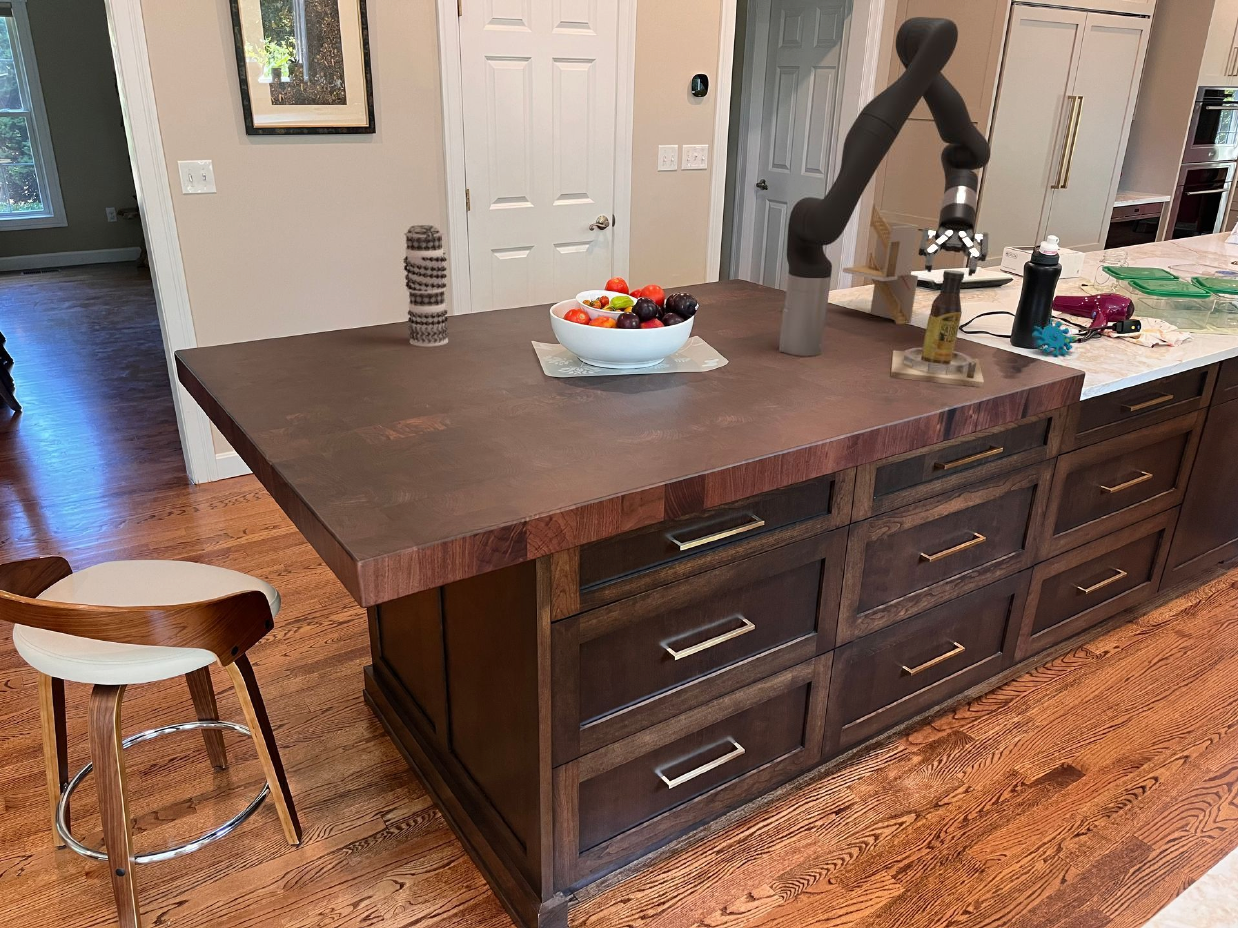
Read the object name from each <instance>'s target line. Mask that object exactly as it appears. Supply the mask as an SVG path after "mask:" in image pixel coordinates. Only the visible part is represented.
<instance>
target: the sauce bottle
mask: <svg viewBox="0 0 1238 928" xmlns="http://www.w3.org/2000/svg"><path fill="white" fill-rule="evenodd" d="M964 277H965V272H964V271H961V270H955V269H944V271H943V274H942V278H943V280H942V284H941V288H940V292H939V294H938V295H937V296H936V297H935V299H934V300H933V301H932V304H931V308H930V313H929V316H928V320H927V323H926V325H927V326H926V330H925V334H924V339H923V344H922V347H921V348H922V353H921V355H922V357H921V360H923V361H927V362H931V363H940V364H950V362H951V359H952V355H953V351H954V349H955V346H956V345H955V344H956V341H957V337H958V331H959V327H960V324H961V323H960V321H961V318H962V305H961V295H960V294H961V288H962V283H963V280H964Z"/></svg>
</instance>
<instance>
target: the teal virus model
mask: <svg viewBox="0 0 1238 928" xmlns="http://www.w3.org/2000/svg"><path fill="white" fill-rule="evenodd" d="M1049 318H1050V324H1049V325H1048V326H1047V325H1045V326H1046V327H1044V329H1043V330H1042V328H1041V326H1040V327H1037V326H1034V325H1033V326H1034V328H1035V329H1037V330H1038V331H1037V330H1035V329H1034V328H1033V327H1032V328H1033V330H1035V331H1033V332H1032V334H1031V336H1032V337H1033V338H1036V339H1037V341H1035V345H1036V346H1037V347H1038V346H1041V345H1044V347H1042V351H1043V353H1044V354H1048V353H1049V352H1050V351H1051V349H1053V350H1054V351H1053V352H1051V355H1052V357H1056V358H1057V357H1058V356H1062V357H1063V356H1066V355H1067V354H1068V352H1069V351H1070V350H1072V349H1073V347H1074V346H1073V345H1072V344H1071V343H1074V342H1075V341H1077V340H1078V337H1077V336H1076V335H1073V336H1068V334H1070V329H1069V328H1068V327H1065V328H1063V329H1060V328H1061V327H1062V326H1063V323H1062V322H1061V321H1060V320H1058V321H1056V322H1055V323H1054V324H1055V325H1052V323H1053V322H1054V318H1051V317H1049ZM1059 351H1060V352H1059Z"/></svg>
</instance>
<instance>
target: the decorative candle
mask: <svg viewBox="0 0 1238 928" xmlns="http://www.w3.org/2000/svg"><path fill="white" fill-rule="evenodd" d="M403 235H404V236H405V239H406V240H405V244H406V247H405V256H404V258H403V263H404V265H403V271H405V272H406V273H407V274H405V276H404V277H405V288H406V291H408V294H409V295H408V297H409V302H408V311H407V315H408V316H409V317H408V319H407V321H408V322H409V323H410V324H409V325H408V327H407V328H408V331H409V333H408V337H409V338H410V340H409V344H411V345H413V346H415V347H424V348H426V347H427V348H428V347H429V348H430V347H431V348H432V347H440V346H444V345H446V344H448V342H449V338H448V336H449V332H448V330H449V325H448V324H447V323H446V322H448V319H449V318H448V317H447V316H446V315H448V310H447V309H446V307H447V306H446V300H445V291H447V283H445V282H444V279H446V278H447V274H446V273H444V272H446V271H447V267H446V266H445V265H443V263H445V262H447V261H448V259H447V258H446V256H444V255H446V252H444V248H443V236H444V233H442V232H440V230H439V228H438V227H437V226H435V225H430V224H429V225H428V224H427V225H426V224H425V225H423V224H421V225H420V224H419V225H418V224H417V225H412V226H410V227H409V228H408V230H407V232H405V233H404V234H403Z"/></svg>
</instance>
